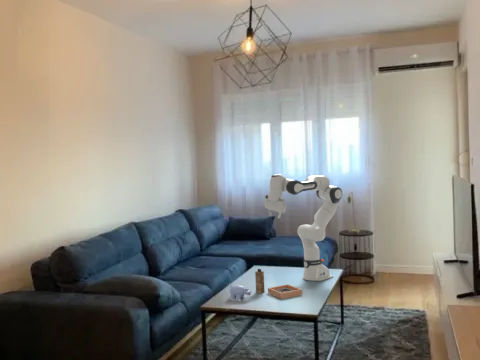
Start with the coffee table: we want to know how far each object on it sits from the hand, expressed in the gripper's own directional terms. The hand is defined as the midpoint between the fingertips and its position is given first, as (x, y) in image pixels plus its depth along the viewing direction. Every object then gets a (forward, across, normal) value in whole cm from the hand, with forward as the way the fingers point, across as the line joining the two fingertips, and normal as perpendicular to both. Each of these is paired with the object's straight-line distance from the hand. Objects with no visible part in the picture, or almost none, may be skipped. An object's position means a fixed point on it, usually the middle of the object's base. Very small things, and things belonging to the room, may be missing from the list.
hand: (274, 217), depth 336 cm
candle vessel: (+45, -27, +10) cm, 53 cm away
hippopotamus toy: (+47, -17, +38) cm, 63 cm away
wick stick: (+47, -13, +20) cm, 52 cm away
